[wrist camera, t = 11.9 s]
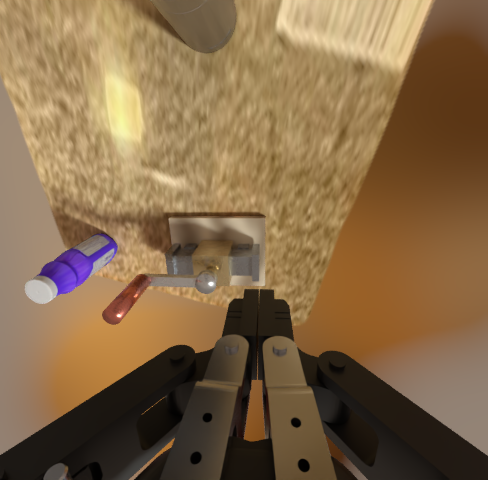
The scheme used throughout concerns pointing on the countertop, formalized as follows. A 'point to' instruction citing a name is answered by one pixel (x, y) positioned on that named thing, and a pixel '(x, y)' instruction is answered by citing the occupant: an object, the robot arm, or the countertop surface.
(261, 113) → the countertop surface
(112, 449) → the robot arm
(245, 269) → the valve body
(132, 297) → the valve lever
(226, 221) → the valve board
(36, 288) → the bottle
